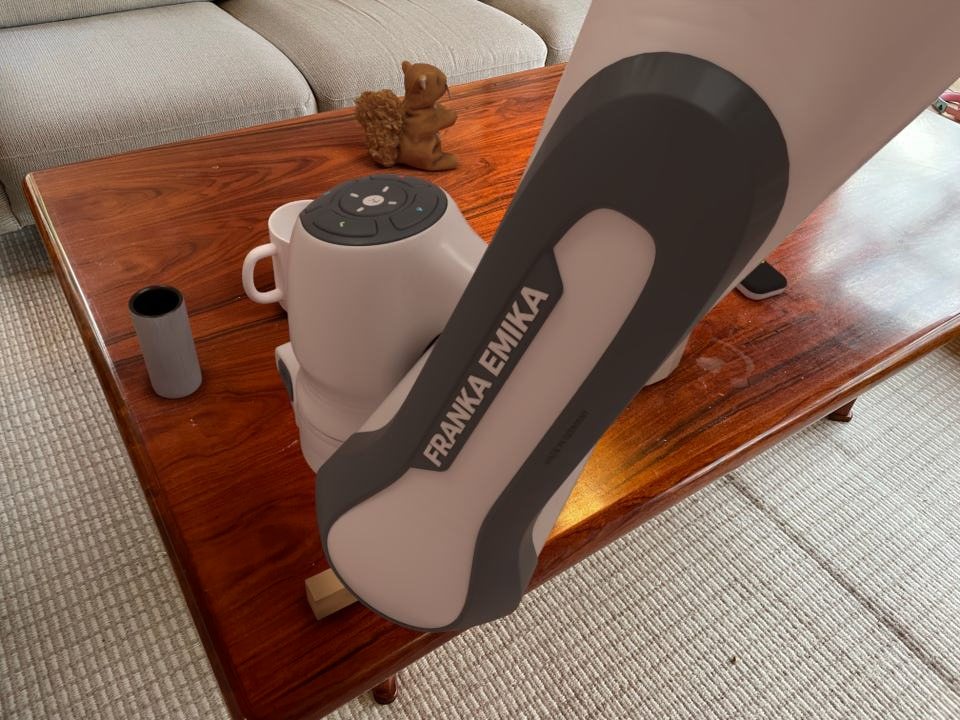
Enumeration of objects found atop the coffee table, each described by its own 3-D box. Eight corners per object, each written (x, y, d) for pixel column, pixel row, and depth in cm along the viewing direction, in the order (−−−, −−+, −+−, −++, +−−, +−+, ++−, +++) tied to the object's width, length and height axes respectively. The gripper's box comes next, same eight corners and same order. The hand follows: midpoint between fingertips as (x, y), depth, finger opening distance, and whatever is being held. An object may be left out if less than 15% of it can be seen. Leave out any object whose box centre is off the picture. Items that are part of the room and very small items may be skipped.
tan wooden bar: (420, 544, 61) (422, 524, 59) (432, 563, 60) (434, 543, 58) (307, 599, 57) (304, 579, 55) (317, 621, 56) (315, 601, 53)
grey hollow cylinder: (160, 405, 69) (135, 323, 62) (147, 374, 71) (121, 292, 64) (208, 389, 71) (190, 308, 64) (194, 360, 73) (174, 278, 66)
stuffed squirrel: (464, 169, 106) (472, 79, 96) (368, 180, 101) (368, 87, 92) (440, 136, 112) (445, 49, 103) (349, 145, 107) (347, 55, 98)
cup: (367, 306, 82) (366, 230, 75) (266, 344, 76) (255, 266, 69) (330, 267, 86) (326, 191, 79) (232, 300, 80) (219, 222, 73)
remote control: (751, 304, 89) (757, 291, 88) (686, 246, 97) (690, 233, 96) (788, 293, 92) (794, 280, 90) (721, 237, 99) (726, 224, 98)
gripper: (505, 528, 41) (478, 637, 51) (350, 308, 52) (353, 431, 62) (404, 577, 38) (396, 682, 48) (264, 333, 50) (281, 458, 59)
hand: (371, 539), depth 55 cm, fingers open, 8 cm apart
